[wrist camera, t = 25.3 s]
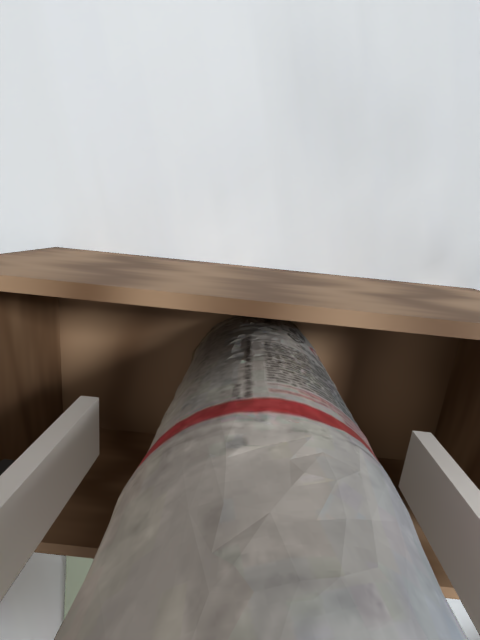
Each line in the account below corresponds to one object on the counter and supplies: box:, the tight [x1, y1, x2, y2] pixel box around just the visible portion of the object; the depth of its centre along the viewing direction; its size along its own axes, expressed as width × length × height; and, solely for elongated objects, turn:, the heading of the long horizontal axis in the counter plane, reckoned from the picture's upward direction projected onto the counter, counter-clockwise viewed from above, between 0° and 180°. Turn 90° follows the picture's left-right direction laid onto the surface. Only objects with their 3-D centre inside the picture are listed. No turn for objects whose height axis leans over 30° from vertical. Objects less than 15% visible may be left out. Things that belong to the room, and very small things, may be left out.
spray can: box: [54, 315, 468, 640], centre depth 13 cm, size 8×8×20 cm
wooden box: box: [0, 247, 480, 599], centre depth 19 cm, size 26×12×10 cm, turn 85°
